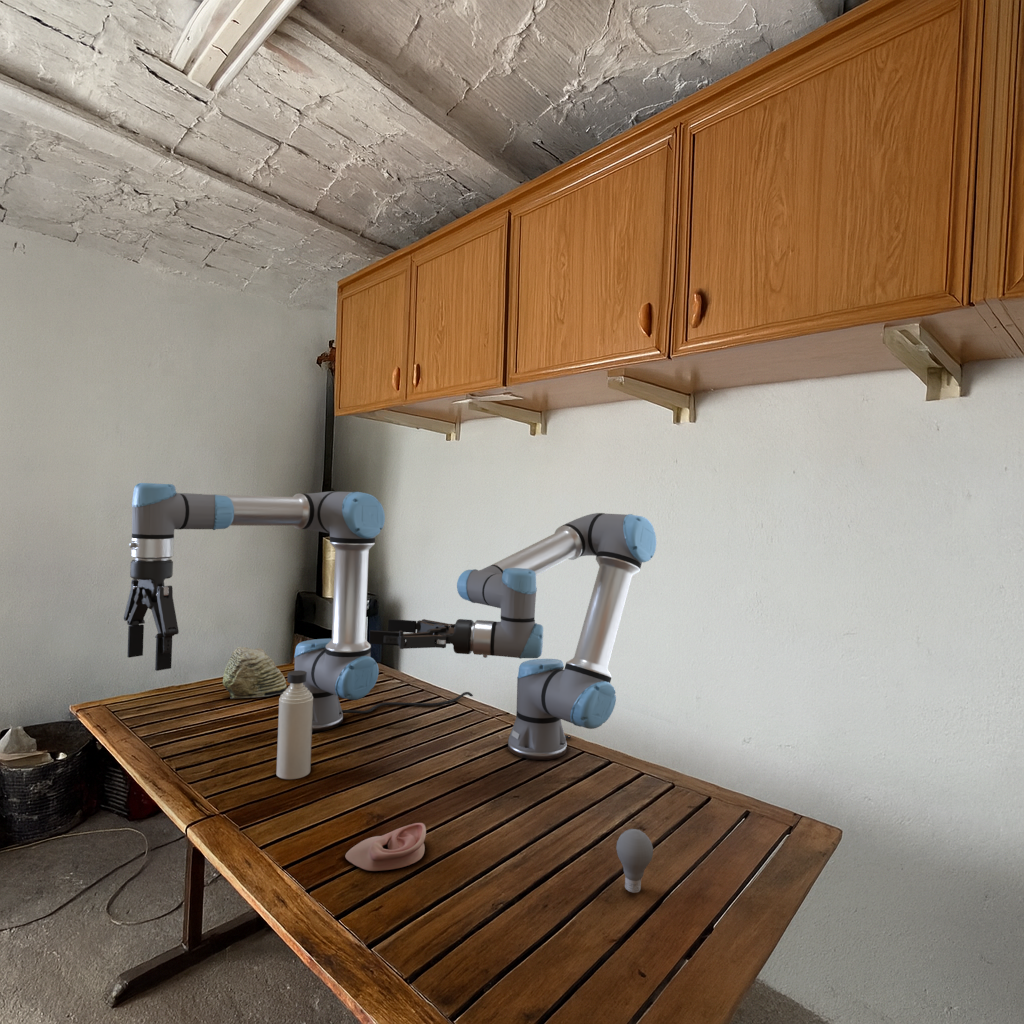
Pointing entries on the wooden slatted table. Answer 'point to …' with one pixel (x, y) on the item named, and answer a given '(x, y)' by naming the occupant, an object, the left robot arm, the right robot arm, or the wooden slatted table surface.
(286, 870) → the wooden slatted table surface
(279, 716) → the bottle
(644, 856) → the light bulb
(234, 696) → the fossil
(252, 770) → the wooden slatted table surface
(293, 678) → the cap
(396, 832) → the anatomical model
